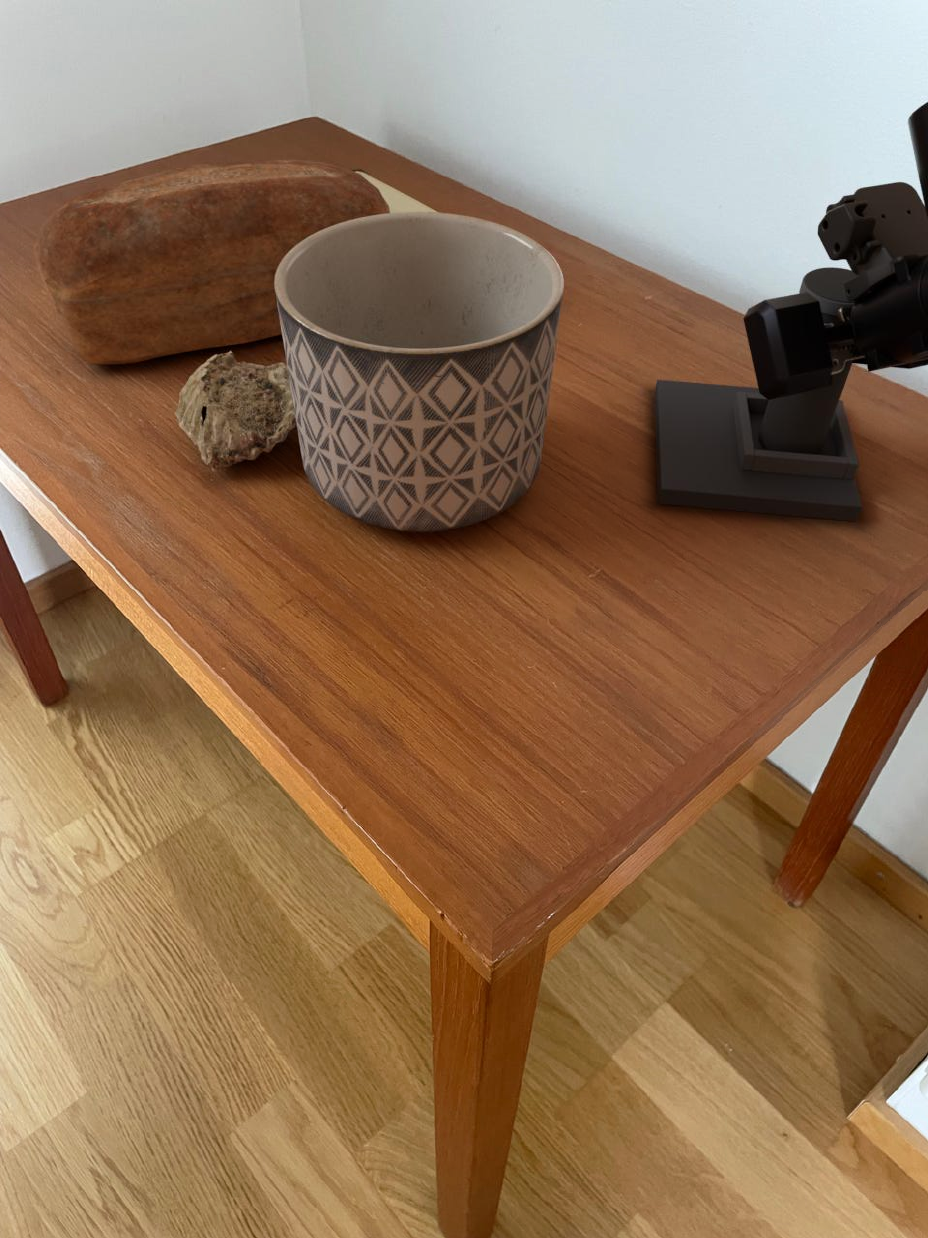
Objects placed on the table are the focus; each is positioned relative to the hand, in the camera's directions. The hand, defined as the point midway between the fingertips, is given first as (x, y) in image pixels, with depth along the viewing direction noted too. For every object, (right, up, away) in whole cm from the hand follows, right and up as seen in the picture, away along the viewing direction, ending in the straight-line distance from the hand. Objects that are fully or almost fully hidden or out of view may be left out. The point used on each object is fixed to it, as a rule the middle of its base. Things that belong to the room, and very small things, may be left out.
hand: (803, 359), depth 73 cm
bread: (-48, +8, +18) cm, 52 cm away
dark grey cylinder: (0, -6, +4) cm, 7 cm away
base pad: (-3, -6, +5) cm, 9 cm away
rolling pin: (-30, +18, +28) cm, 45 cm away
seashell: (-44, -5, +5) cm, 44 cm away
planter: (-29, -8, +3) cm, 30 cm away
